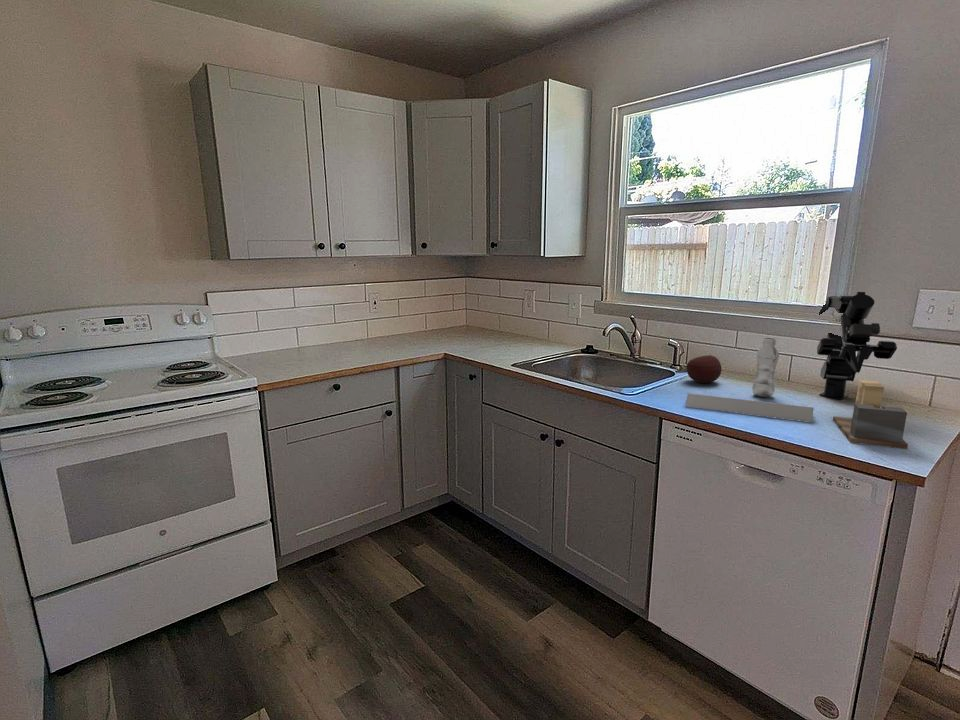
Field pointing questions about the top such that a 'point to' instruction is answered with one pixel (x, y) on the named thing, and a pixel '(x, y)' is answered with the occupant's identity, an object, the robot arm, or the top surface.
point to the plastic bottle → (766, 368)
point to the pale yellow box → (869, 393)
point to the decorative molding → (750, 407)
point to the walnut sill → (874, 426)
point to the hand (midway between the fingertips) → (858, 371)
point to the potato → (704, 369)
